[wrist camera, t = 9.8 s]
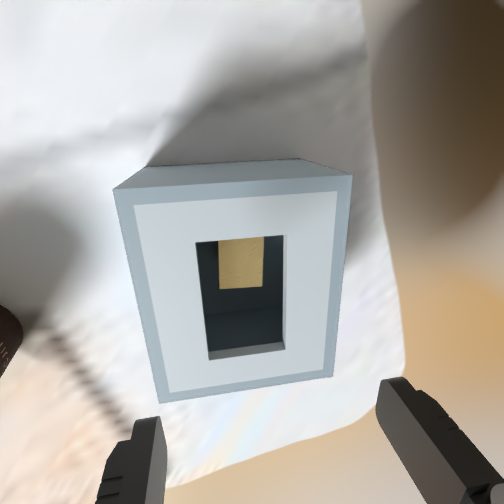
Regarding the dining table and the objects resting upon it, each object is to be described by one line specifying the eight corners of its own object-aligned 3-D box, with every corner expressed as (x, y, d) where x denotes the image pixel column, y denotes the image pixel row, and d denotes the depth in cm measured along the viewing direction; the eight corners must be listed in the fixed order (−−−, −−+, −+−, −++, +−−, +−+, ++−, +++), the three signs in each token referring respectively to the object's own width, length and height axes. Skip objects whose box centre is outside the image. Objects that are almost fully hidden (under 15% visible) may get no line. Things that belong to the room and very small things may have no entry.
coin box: (145, 166, 22) (112, 189, 14) (300, 158, 24) (352, 174, 15) (171, 321, 28) (159, 403, 19) (295, 306, 29) (333, 376, 21)
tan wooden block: (214, 188, 23) (217, 203, 18) (252, 188, 23) (265, 202, 19) (216, 259, 25) (219, 288, 20) (250, 258, 25) (262, 286, 21)
